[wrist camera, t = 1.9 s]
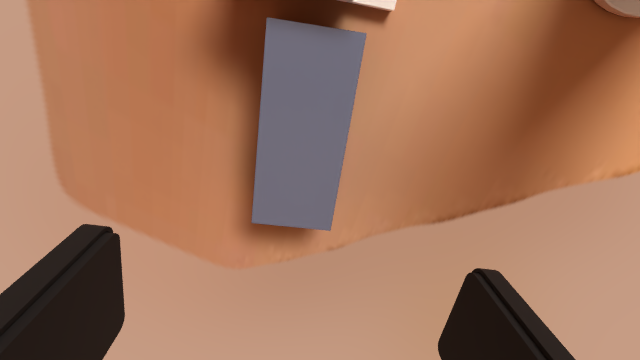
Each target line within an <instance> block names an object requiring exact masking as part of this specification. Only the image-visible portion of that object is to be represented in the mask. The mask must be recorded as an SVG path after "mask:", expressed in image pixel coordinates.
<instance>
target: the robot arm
mask: <svg viewBox="0 0 640 360" xmlns="http://www.w3.org/2000/svg"><path fill="white" fill-rule="evenodd" d="M594 1H595V2H596V3H597V4H598V5H600V6H601V7H602V8H604V9H605V10H607V11H608V12H611V13H614V14H617V15H619V16H625V17H635V18H638V17H640V0H594ZM122 282H123V281H122V266H121V251H120V238H119V235H118V234H116V233H113V230H112V228H110V227H107V226H98V225H89V224H83V225H81V226H80V227H79V228H77V229H76V230H75V231H74V232H73V233H72V234H70V235H69V236H68V237H67V238H66V239H65V240H63V241H62V242H61V243H60V244H59V245H58V246H56V247H55V248H54V249H53V250H52V251H51V252H49V253H48V254H47V255H46V256H45V257H44V258H43V259H41V260H40V261H39V262H38V263H36V264H35V265H34V266H33V267H32V268H31V269H30V270H29V271H27V272H26V273H25V274H24V275H22V276H21V277H20V278H19V279H18V280H17V281H15V282H14V283H13V284H12V285H11V286H10V287H9V288H7V289H6V290H5V291H4V292H3V293H1V294H0V360H102V359H103V358H104V356H105V354H106V353H107V351H108V349H109V348H110V346H111V345H112V343H113V341H114V340H115V338H116V337H117V335H118V333H119V332H120V330H121V328H122V325H123V322H124V317H125V312H124V298H123V297H124V296H123V283H122ZM438 351H439V355H440V357H441V359H442V360H575V359H574V357H573V356H572V355H571V354H570V353H569V352H568V351H567V349H566V348H565V347H564V346H563V345H562V344H561V342H560V341H559V340H558V339H557V338H556V337H555V335H554V334H553V333H552V332H551V331H550V330H549V328H548V327H547V326H546V325H545V324H544V323H543V322H542V320H541V319H540V318H539V317H538V316H537V315H536V314H535V313H534V311H533V310H532V309H531V308H530V307H529V305H528V304H527V303H526V302H525V301H524V300H523V298H522V297H521V296H520V295H519V294H518V293H517V292H516V290H515V289H514V288H513V287H512V286H511V285H510V283H509V282H508V281H507V280H506V279H505V278H504V276H503V275H502V274H501V273H500V272H498V271H496V270H489V269H480V268H477V269H474V270H473V271H472V273H469V274H467V276H466V278H465V280H464V282H463V285H462V287H461V289H460V292H459V294H458V297H457V299H456V301H455V304H454V306H453V308H452V311H451V313H450V315H449V318H448V320H447V323H446V325H445V328H444V330H443V332H442V334H441V337H440V339H439V342H438Z"/></svg>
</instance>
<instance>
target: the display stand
mask: <svg viewBox="0 0 640 360" xmlns="http://www.w3.org/2000/svg"><path fill="white" fill-rule="evenodd" d="M338 1H343V2H348V3H353V4H358V5H363V6H367V7H372V8H377V9H382V10H387V11H393V10H394V9H395V4H396V0H338Z"/></svg>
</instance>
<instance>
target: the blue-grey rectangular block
mask: <svg viewBox="0 0 640 360" xmlns="http://www.w3.org/2000/svg"><path fill="white" fill-rule="evenodd" d="M366 34H367V33H361V32H355V31H349V30H343V29H337V28H331V27H324V26H318V25H312V24H306V23H300V22H294V21H287V20H281V19H275V18H269V17H267V22H266V36H265V49H264V62H263V76H262V89H261V103H260V116H259V129H258V143H257V156H256V170H255V183H254V197H253V210H252V223H257V224H267V225H277V226H288V227H298V228H308V229H318V230H329V231H330V230H331V225H332V219H333V214H334V208H335V203H336V198H337V192H338V187H339V181H340V176H341V170H342V165H343V159H344V154H345V148H346V143H347V137H348V132H349V127H350V121H351V116H352V110H353V105H354V99H355V94H356V88H357V83H358V77H359V72H360V67H361V61H362V56H363V50H364V45H365V39H366Z"/></svg>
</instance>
